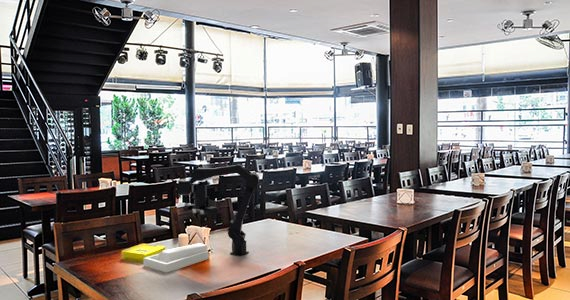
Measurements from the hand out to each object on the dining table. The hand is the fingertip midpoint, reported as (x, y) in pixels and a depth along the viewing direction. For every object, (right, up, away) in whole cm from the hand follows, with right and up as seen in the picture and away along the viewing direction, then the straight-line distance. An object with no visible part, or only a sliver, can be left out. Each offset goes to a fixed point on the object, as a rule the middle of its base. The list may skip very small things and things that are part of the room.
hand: (201, 227), depth 208 cm
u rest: (-8, -14, -10) cm, 19 cm away
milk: (+2, -10, -3) cm, 11 cm away
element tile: (-27, -14, -1) cm, 30 cm away
